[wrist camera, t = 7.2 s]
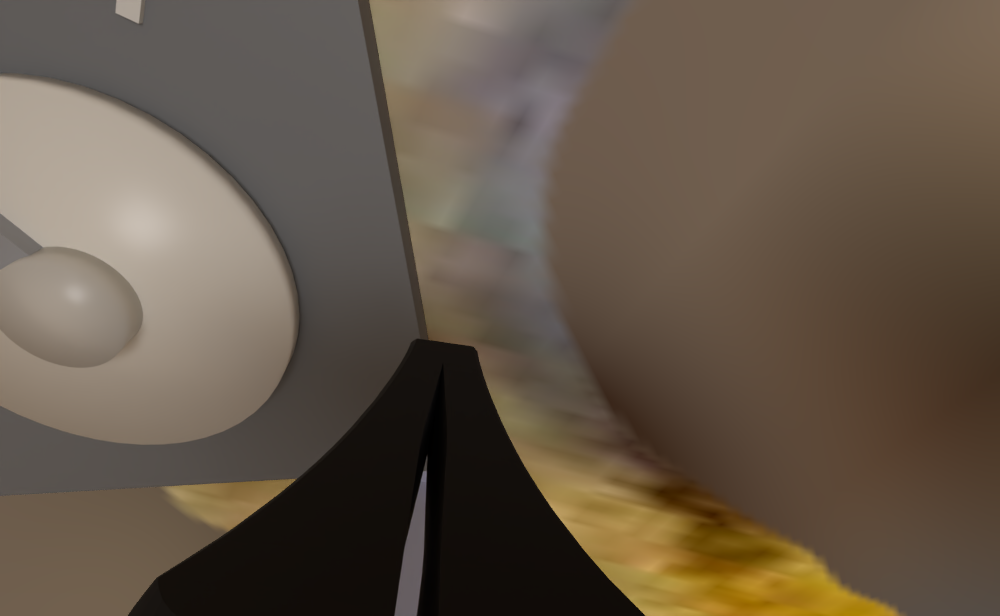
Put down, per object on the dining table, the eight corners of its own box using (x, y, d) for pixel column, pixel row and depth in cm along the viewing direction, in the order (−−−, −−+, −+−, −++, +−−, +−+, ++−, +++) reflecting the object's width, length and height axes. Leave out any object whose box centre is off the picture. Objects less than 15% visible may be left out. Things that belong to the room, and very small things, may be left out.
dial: (378, 327, 20) (349, 415, 16) (142, 471, 24) (73, 569, 20) (-112, -179, 12) (-400, -250, 8) (-338, 158, 16) (-605, 217, 12)
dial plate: (447, 445, 26) (444, 473, 25) (11, 471, 27) (-17, 500, 25) (345, -130, 14) (329, -142, 13) (-431, -61, 15) (-531, -64, 13)
